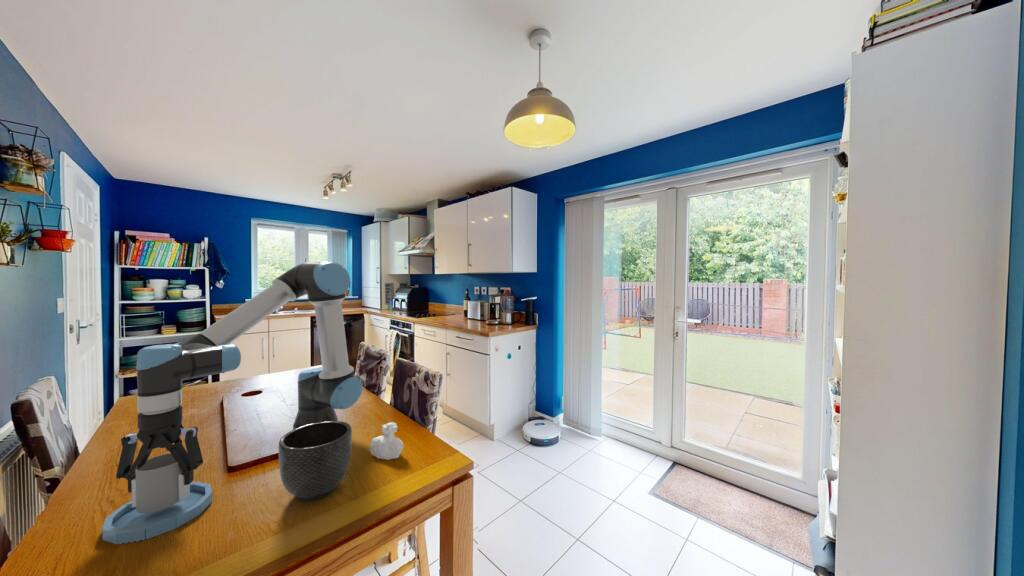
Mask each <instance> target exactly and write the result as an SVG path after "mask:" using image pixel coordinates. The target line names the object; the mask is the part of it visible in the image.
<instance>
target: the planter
mask: <svg viewBox="0 0 1024 576" xmlns="http://www.w3.org/2000/svg"><path fill="white" fill-rule="evenodd" d="M352 442H353V430H352V426H351V425H350V424H349V423H347V422H346V421H339V420H338V421H323V422H316V423H312V424H308V425H304V426H301V427H299V428H296V429H294V430H293V429H292V430H290V431H288V432H287V433H285V434H284V435H283V436H281V438H280V439H279V441H278V466H279V467H278V468H279V473H280V479H281V483H282V485H283V487H284V489H285V490H286V492H288V493H289V494H290V495H292V496H294V497H296V498H297V499H298V500H300V501H301V502H307V503H308V502H315V501H319V500H321V499H324V498H326V497H328V496H330V494H332V493H333V492H334V491H335V489H336V487H337V486H338V485H339V484H340V483H341V482H342V481H343V479H344V478H345V476H346V475H347V472H348V469H349V467H350V462H351V457H352V456H351V454H352V447H353V446H352V444H353V443H352Z"/></svg>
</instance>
